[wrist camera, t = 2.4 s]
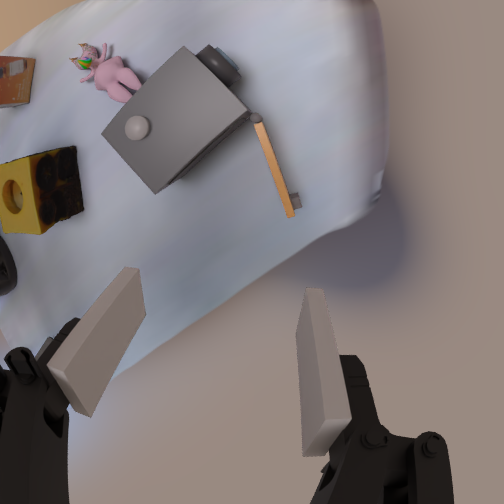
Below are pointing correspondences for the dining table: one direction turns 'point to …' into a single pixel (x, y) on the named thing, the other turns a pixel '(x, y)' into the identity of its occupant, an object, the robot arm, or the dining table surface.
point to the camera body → (178, 116)
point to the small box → (15, 80)
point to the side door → (275, 168)
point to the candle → (39, 191)
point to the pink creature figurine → (107, 73)
